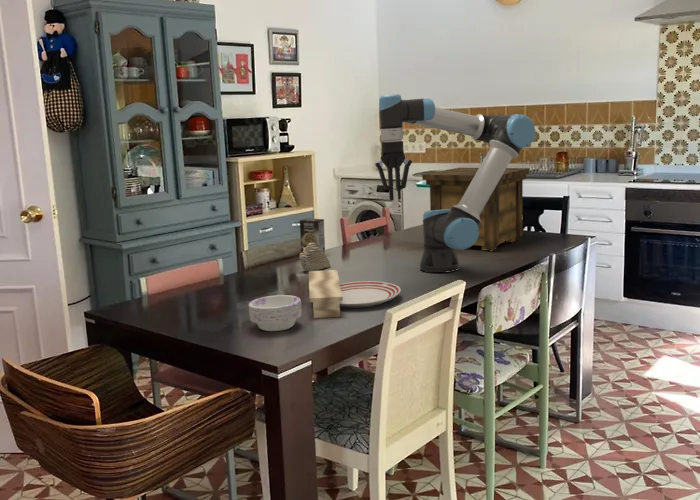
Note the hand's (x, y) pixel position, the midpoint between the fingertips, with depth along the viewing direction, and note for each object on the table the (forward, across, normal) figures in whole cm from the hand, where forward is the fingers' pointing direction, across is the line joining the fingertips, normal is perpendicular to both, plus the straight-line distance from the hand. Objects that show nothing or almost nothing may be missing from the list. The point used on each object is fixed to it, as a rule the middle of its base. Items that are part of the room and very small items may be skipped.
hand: (395, 209), depth 242 cm
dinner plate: (+27, -17, -17) cm, 36 cm away
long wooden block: (+26, -28, -16) cm, 42 cm away
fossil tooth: (+27, -27, +32) cm, 50 cm away
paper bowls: (+26, -45, -40) cm, 65 cm away
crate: (+29, +49, +62) cm, 84 cm away
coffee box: (+27, -26, +60) cm, 71 cm away
